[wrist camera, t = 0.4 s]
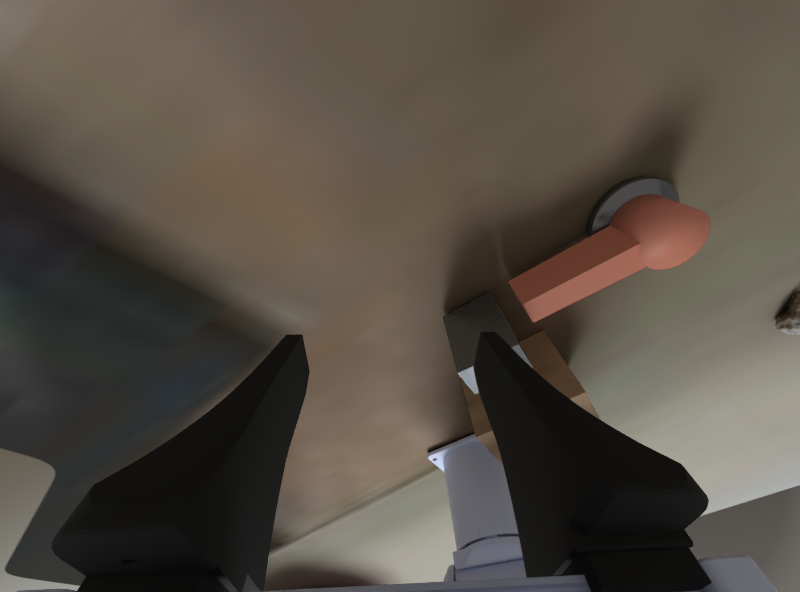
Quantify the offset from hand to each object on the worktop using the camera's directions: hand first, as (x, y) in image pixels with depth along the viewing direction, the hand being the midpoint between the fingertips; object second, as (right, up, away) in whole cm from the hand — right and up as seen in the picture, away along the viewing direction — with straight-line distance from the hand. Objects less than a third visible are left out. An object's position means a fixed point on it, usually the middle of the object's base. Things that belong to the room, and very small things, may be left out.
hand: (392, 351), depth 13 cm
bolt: (+9, -2, +13) cm, 16 cm away
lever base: (+15, +8, +8) cm, 19 cm away
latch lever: (+13, +5, +8) cm, 16 cm away
